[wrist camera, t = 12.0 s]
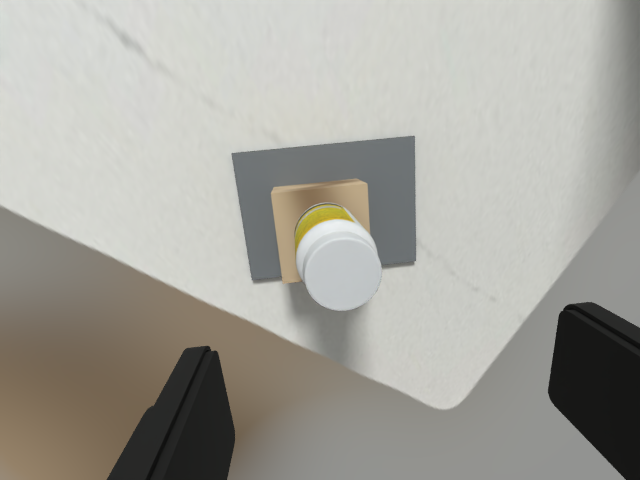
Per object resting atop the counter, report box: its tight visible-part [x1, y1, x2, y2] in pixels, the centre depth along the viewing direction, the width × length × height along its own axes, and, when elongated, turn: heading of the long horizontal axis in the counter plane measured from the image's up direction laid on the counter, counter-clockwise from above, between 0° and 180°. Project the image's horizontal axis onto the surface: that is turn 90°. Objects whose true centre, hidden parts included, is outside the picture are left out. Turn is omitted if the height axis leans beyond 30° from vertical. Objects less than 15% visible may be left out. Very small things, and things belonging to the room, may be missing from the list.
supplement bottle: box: [294, 203, 382, 311], centre depth 20 cm, size 5×5×8 cm
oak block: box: [271, 179, 370, 284], centre depth 26 cm, size 7×7×4 cm
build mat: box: [232, 136, 416, 280], centre depth 28 cm, size 15×11×1 cm
